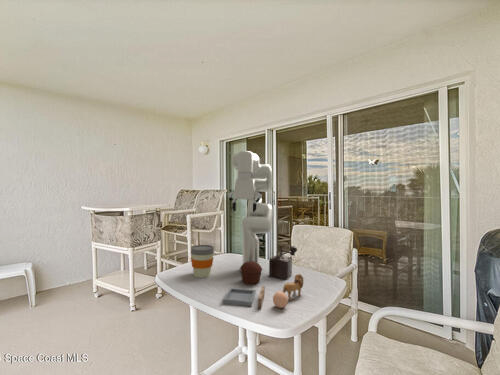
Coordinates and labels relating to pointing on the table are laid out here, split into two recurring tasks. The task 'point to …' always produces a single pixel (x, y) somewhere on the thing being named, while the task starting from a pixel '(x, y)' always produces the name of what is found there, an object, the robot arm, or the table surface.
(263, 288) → the walnut wall
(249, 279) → the muffin
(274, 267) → the manual coffee grinder
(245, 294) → the slate dish
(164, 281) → the table surface
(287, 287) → the lion figurine
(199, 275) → the reusable coffee cup
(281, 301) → the ball
